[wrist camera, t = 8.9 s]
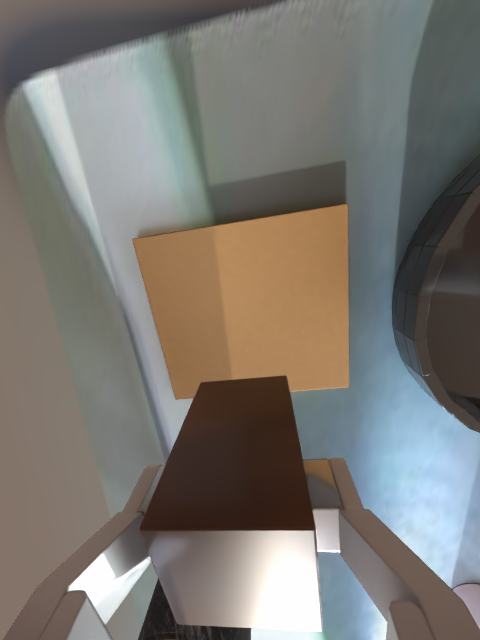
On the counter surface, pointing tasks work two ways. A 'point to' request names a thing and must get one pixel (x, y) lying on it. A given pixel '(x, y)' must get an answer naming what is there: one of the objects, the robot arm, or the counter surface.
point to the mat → (252, 300)
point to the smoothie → (470, 599)
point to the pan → (444, 300)
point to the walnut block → (237, 513)
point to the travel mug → (167, 636)
